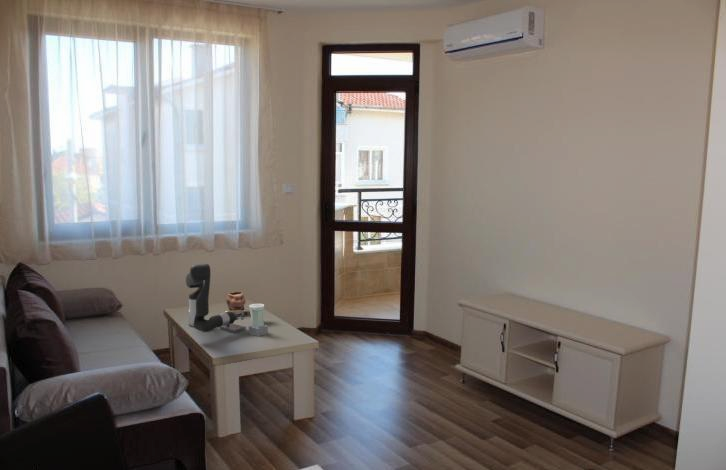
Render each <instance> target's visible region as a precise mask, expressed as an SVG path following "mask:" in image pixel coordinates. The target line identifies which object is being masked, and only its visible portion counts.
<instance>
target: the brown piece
mask: <svg viewBox="0 0 726 470" xmlns="http://www.w3.org/2000/svg"><path fill="white" fill-rule="evenodd" d="M229 311H230V310H229V309H228V310H225V311H224V313H225V312H229ZM245 311H247V310H241V311H230V312H245Z"/></svg>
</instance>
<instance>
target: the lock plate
mask: <svg viewBox="0 0 726 470" xmlns="http://www.w3.org/2000/svg"><path fill="white" fill-rule="evenodd" d="M219 328H220V330H221V331H223V332H224V331H225V332H227V333H231V334H237V333H240V332H245V331H246V330H247V326H244V325H241V324H237V323H236V324H235V323H232V324H229V325H225V326H220V327H219Z"/></svg>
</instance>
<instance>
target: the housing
mask: <svg viewBox="0 0 726 470" xmlns="http://www.w3.org/2000/svg"><path fill="white" fill-rule="evenodd" d="M268 333H269V326H268V325H266V324H264V326H263V327H260V328H256V327H253V324H252V325H249V326H248V335H251V336H256V337H261V336H263V335H266V334H268Z"/></svg>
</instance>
